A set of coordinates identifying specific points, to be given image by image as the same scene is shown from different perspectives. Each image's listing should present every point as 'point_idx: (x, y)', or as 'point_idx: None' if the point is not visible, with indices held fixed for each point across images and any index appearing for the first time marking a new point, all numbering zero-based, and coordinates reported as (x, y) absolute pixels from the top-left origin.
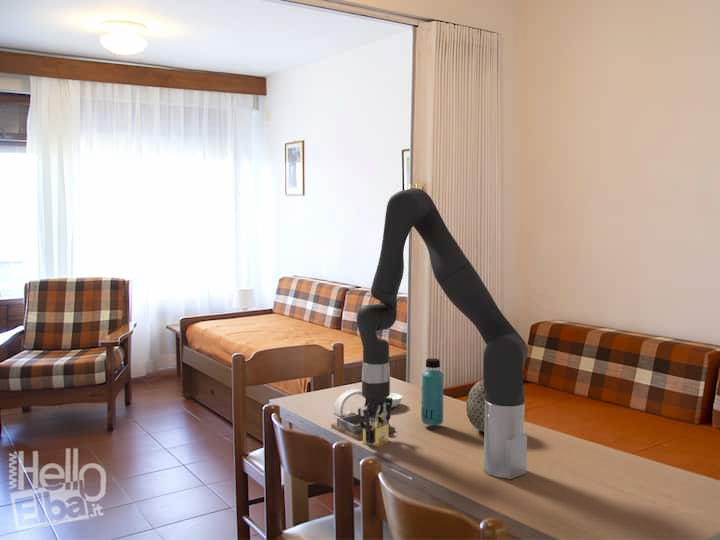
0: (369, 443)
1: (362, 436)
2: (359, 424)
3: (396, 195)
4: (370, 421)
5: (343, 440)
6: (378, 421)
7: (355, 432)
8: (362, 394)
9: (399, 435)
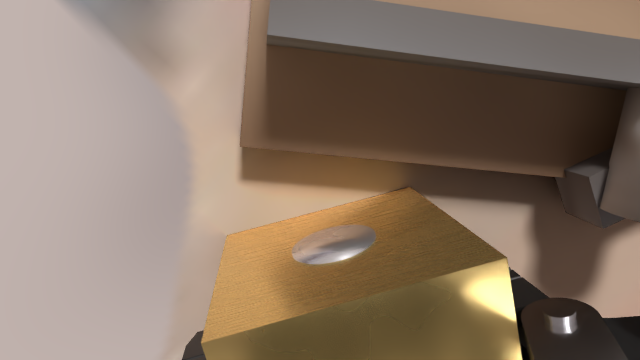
0: None
1: (307, 150)
2: (389, 25)
3: None
4: (431, 281)
5: (110, 28)
6: (518, 357)
7: (289, 44)
8: None
9: (626, 294)
